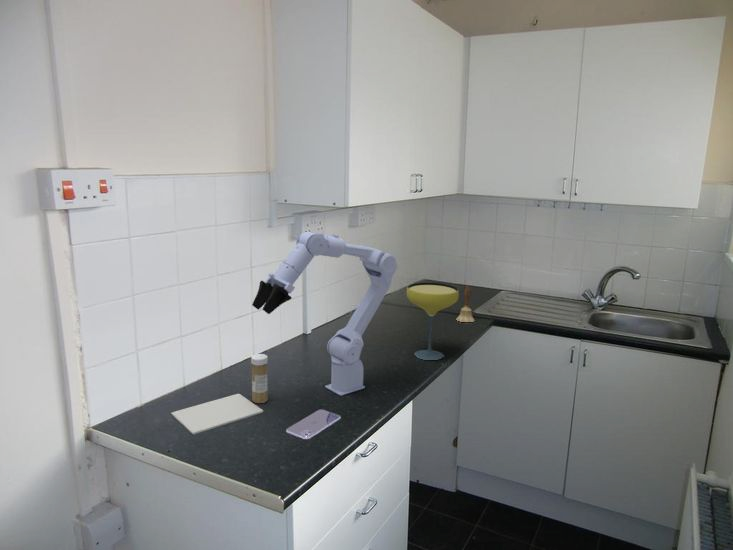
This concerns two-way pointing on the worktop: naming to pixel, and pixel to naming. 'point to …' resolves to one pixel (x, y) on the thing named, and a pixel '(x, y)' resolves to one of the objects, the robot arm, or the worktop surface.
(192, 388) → the worktop surface
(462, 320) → the hand bell
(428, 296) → the cocktail glass
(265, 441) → the worktop surface
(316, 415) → the mobile phone
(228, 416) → the mat
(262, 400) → the sprinkles bottle
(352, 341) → the robot arm
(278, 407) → the worktop surface
